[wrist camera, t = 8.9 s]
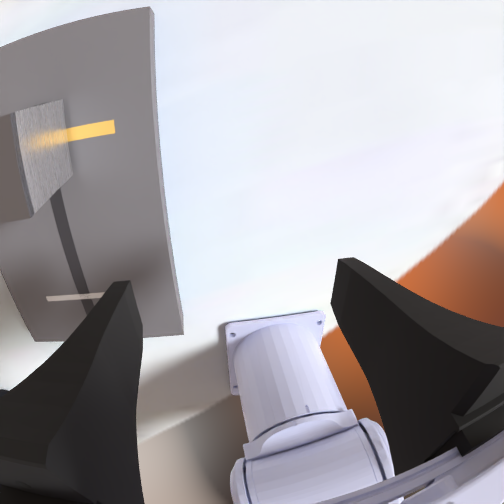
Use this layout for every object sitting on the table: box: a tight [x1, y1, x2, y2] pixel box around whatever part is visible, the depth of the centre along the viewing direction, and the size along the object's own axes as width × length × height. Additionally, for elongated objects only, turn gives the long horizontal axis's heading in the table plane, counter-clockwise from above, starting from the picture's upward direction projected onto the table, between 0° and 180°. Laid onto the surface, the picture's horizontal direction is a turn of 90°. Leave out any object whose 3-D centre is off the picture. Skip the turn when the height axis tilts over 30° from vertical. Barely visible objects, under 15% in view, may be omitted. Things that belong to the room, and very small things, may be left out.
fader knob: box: [0, 99, 73, 224], centre depth 11 cm, size 4×3×5 cm
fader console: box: [0, 7, 184, 342], centre depth 16 cm, size 20×12×2 cm, turn 0°
